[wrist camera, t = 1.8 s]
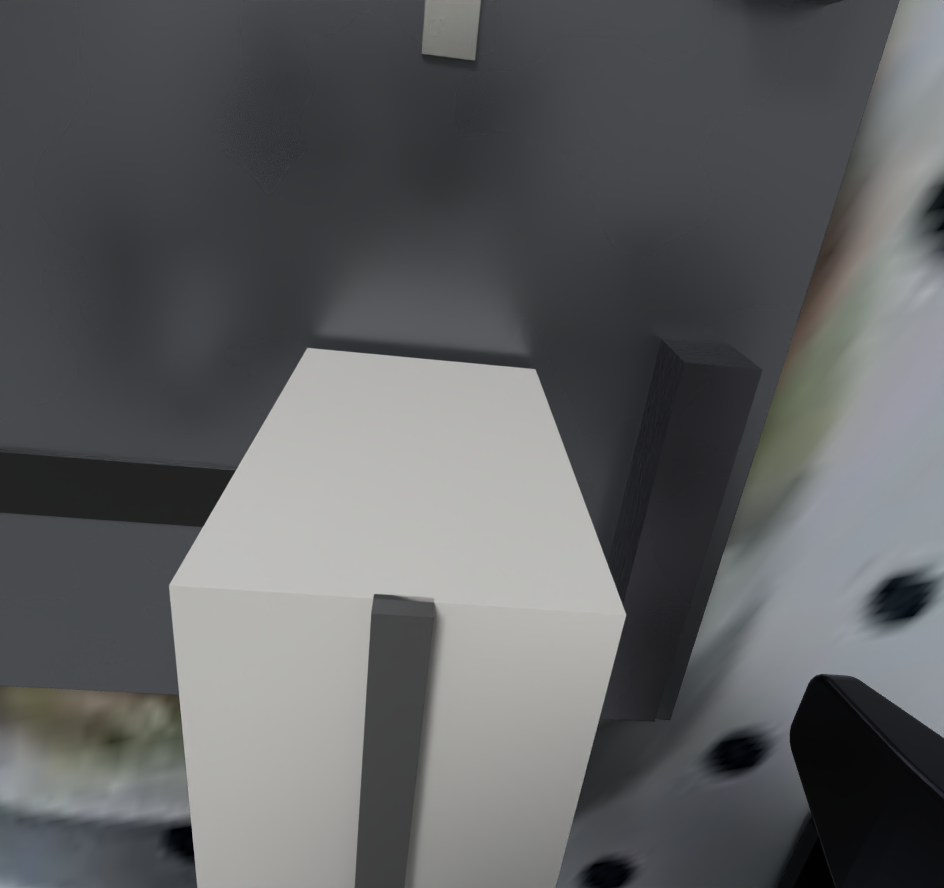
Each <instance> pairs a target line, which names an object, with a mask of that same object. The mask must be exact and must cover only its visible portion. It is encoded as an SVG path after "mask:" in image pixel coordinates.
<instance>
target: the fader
mask: <svg viewBox="0 0 944 888" xmlns="http://www.w3.org/2000/svg"><path fill="white" fill-rule="evenodd" d="M169 591H170V602H171V612H172V623H173V634H174V644H175V655H176V665H177V676H178V687H179V697H180V708H181V718H182V729H183V740H184V750H185V761H186V771H187V782H188V793H189V803H190V814H191V824H192V835H193V846H194V856H195V867H196V877H197V888H556V884H557V880H558V876H559V872H560V869H561V865H562V861H563V857H564V853H565V849H566V845H567V841H568V838H569V834H570V830H571V826H572V822H573V818H574V814H575V811H576V807H577V803H578V799H579V795H580V791H581V787H582V784H583V780H584V776H585V772H586V768H587V764H588V760H589V757H590V753H591V749H592V745H593V741H594V737H595V733H596V730H597V726H598V722H599V718H600V714H601V710H602V706H603V703H604V699H605V695H606V691H607V687H608V683H609V679H610V676H611V672H612V668H613V664H614V660H615V656H616V652H617V649H618V645H619V641H620V637H621V633H622V629H623V625H624V622H625V618H626V613H625V610H624V607H623V605H622V602H621V599H620V597H619V594H618V591H617V588H616V586H615V583H614V580H613V578H612V575H611V572H610V569H609V567H608V564H607V561H606V559H605V556H604V553H603V551H602V548H601V545H600V542H599V540H598V537H597V534H596V532H595V529H594V526H593V523H592V521H591V518H590V515H589V513H588V510H587V507H586V505H585V502H584V499H583V496H582V494H581V491H580V488H579V486H578V483H577V480H576V477H575V475H574V472H573V469H572V467H571V464H570V461H569V459H568V456H567V453H566V450H565V448H564V445H563V442H562V440H561V437H560V434H559V431H558V429H557V426H556V423H555V421H554V418H553V415H552V413H551V410H550V407H549V404H548V402H547V399H546V396H545V394H544V391H543V388H542V385H541V383H540V380H539V377H538V375H537V372H536V369H528V368H517V367H506V366H496V365H485V364H474V363H463V362H453V361H442V360H431V359H421V358H410V357H399V356H388V355H378V354H367V353H356V352H346V351H335V350H324V349H314V348H307V349H306V351H305V353H304V355H303V356H302V358H301V360H300V361H299V363H298V365H297V367H296V368H295V370H294V372H293V374H292V375H291V377H290V379H289V380H288V382H287V384H286V386H285V387H284V389H283V391H282V392H281V394H280V396H279V398H278V399H277V401H276V403H275V404H274V406H273V408H272V410H271V411H270V413H269V415H268V416H267V418H266V420H265V422H264V423H263V425H262V427H261V428H260V430H259V432H258V434H257V435H256V437H255V439H254V440H253V442H252V444H251V446H250V447H249V449H248V451H247V452H246V454H245V456H244V458H243V459H242V461H241V463H240V464H239V466H238V468H237V470H236V471H235V473H234V475H233V476H232V478H231V480H230V482H229V483H228V485H227V487H226V488H225V490H224V492H223V494H222V495H221V497H220V499H219V500H218V502H217V504H216V506H215V507H214V509H213V511H212V512H211V514H210V516H209V518H208V519H207V521H206V523H205V525H204V526H203V528H202V530H201V531H200V533H199V535H198V537H197V538H196V540H195V542H194V543H193V545H192V547H191V549H190V550H189V552H188V554H187V555H186V557H185V559H184V561H183V562H182V564H181V566H180V567H179V569H178V571H177V573H176V574H175V576H174V578H173V579H172V581H171V583H170V585H169Z"/></svg>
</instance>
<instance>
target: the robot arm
mask: <svg viewBox="0 0 944 888" xmlns="http://www.w3.org/2000/svg"><path fill="white" fill-rule="evenodd" d="M790 746H791V750H792V754H793V757H794V760H795V763H796V767H797V770H798V773H799V776H800V779H801V782H802V785H803V789H804V792H805V795H806V798H807V801H808V804H809V807H810V811H811V814H812V818H811V819H810V821H809V823H808V825H807V827H806V829H805V831H804V833H803V835H802V837H801V839H800V842H799V844H798V846H797V848H796V850H795V852H794V854H793V856H792V858H791V860H790V862H789V865H788V867H787V869H786V871H785V873H784V875H783V877H782V879H781V881H780V883H779V885H778V888H944V738H943V737H941V736H940V735H939V734H937V733H936V732H934V731H933V730H931V729H930V728H928V727H927V726H926V725H924V724H923V723H921V722H920V721H918V720H917V719H915V718H914V717H912V716H911V715H910V714H908V713H907V712H905V711H904V710H902V709H901V708H899V707H898V706H897V705H895V704H894V703H892V702H891V701H889V700H888V699H886V698H885V697H883V696H882V695H881V694H879V693H878V692H876V691H875V690H873V689H872V688H870V687H869V686H867V685H866V684H865V683H863V682H862V681H860V680H859V679H857V678H854V677H851V676H845V675H828V674H820V675H816V676H815V677H814V678H813V679H811V680H810V682H809V684H808V686H807V689H806V691H805V693H804V696H803V698H802V701H801V703H800V705H799V708H798V710H797V712H796V715H795V717H794V720H793V722H792V725H791V729H790Z"/></svg>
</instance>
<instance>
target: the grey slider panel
mask: <svg viewBox="0 0 944 888" xmlns="http://www.w3.org/2000/svg"><path fill="white" fill-rule="evenodd" d="M899 1H900V0H0V686H18V687H37V688H57V689H76V690H96V691H115V692H135V693H154V694H174V695H179V687H178V676H177V665H176V655H175V644H174V634H173V623H172V612H171V602H170V591H169V585H170V583H171V581H172V579H173V578H174V576H175V574H176V573H177V571H178V569H179V567H180V566H181V564H182V562H183V561H184V559H185V557H186V555H187V554H188V552H189V550H190V549H191V547H192V545H193V543H194V542H195V540H196V538H197V537H198V535H199V533H200V531H201V530H202V528H203V526H204V525H205V523H206V521H207V519H208V518H209V516H210V514H211V512H212V511H213V509H214V507H215V506H216V504H217V502H218V500H219V499H220V497H221V495H222V494H223V492H224V490H225V488H226V487H227V485H228V483H229V482H230V480H231V478H232V476H233V475H234V473H235V471H236V470H237V468H238V466H239V464H240V463H241V461H242V459H243V458H244V456H245V454H246V452H247V451H248V449H249V447H250V446H251V444H252V442H253V440H254V439H255V437H256V435H257V434H258V432H259V430H260V428H261V427H262V425H263V423H264V422H265V420H266V418H267V416H268V415H269V413H270V411H271V410H272V408H273V406H274V404H275V403H276V401H277V399H278V398H279V396H280V394H281V392H282V391H283V389H284V387H285V386H286V384H287V382H288V380H289V379H290V377H291V375H292V374H293V372H294V370H295V368H296V367H297V365H298V363H299V361H300V360H301V358H302V356H303V355H304V353H305V351H306V349H307V348H314V349H324V350H335V351H346V352H356V353H367V354H378V355H388V356H399V357H410V358H421V359H431V360H442V361H453V362H463V363H474V364H485V365H496V366H506V367H517V368H528V369H536V372H537V375H538V377H539V380H540V383H541V385H542V388H543V391H544V394H545V396H546V399H547V402H548V404H549V407H550V410H551V413H552V415H553V418H554V421H555V423H556V426H557V429H558V431H559V434H560V437H561V440H562V442H563V445H564V448H565V450H566V453H567V456H568V459H569V461H570V464H571V467H572V469H573V472H574V475H575V477H576V480H577V483H578V486H579V488H580V491H581V494H582V496H583V499H584V502H585V505H586V507H587V510H588V513H589V515H590V518H591V521H592V523H593V526H594V529H595V532H596V534H597V537H598V540H599V542H600V545H601V548H602V551H603V553H604V556H605V559H606V561H607V564H608V567H609V569H610V572H611V575H612V578H613V580H614V583H615V586H616V588H617V591H618V594H619V597H620V599H621V602H622V605H623V607H624V610H625V613H626V618H625V622H624V625H623V629H622V633H621V637H620V641H619V645H618V649H617V652H616V656H615V660H614V664H613V668H612V672H611V676H610V679H609V683H608V687H607V691H606V695H605V699H604V703H603V706H602V710H601V714H600V718H599V719H616V720H636V721H655V719H661V720H670V718H671V715H672V712H673V709H674V706H675V702H676V699H677V696H678V693H679V690H680V687H681V684H682V681H683V677H684V674H685V671H686V668H687V665H688V662H689V659H690V655H691V652H692V649H693V646H694V643H695V640H696V637H697V634H698V630H699V627H700V624H701V621H702V618H703V615H704V612H705V608H706V605H707V602H708V599H709V596H710V593H711V590H712V587H713V583H714V580H715V577H716V574H717V571H718V568H719V565H720V561H721V558H722V555H723V552H724V549H725V546H726V543H727V540H728V536H729V533H730V530H731V527H732V524H733V521H734V518H735V514H736V511H737V508H738V505H739V502H740V499H741V496H742V493H743V489H744V486H745V483H746V480H747V477H748V474H749V471H750V467H751V464H752V461H753V458H754V455H755V452H756V449H757V446H758V442H759V439H760V436H761V433H762V430H763V427H764V424H765V420H766V417H767V414H768V411H769V408H770V405H771V402H772V399H773V395H774V392H775V389H776V386H777V383H778V380H779V377H780V373H781V370H782V367H783V364H784V361H785V358H786V355H787V352H788V348H789V345H790V342H791V339H792V336H793V333H794V330H795V326H796V323H797V320H798V317H799V314H800V311H801V308H802V305H803V301H804V298H805V295H806V292H807V289H808V286H809V283H810V279H811V276H812V273H813V270H814V267H815V264H816V261H817V258H818V254H819V251H820V248H821V245H822V242H823V239H824V236H825V232H826V229H827V226H828V223H829V220H830V217H831V214H832V211H833V207H834V204H835V201H836V198H837V195H838V192H839V189H840V185H841V182H842V179H843V176H844V173H845V170H846V167H847V164H848V160H849V157H850V154H851V151H852V148H853V145H854V142H855V138H856V135H857V132H858V129H859V126H860V123H861V120H862V117H863V113H864V110H865V107H866V104H867V101H868V98H869V95H870V91H871V88H872V85H873V82H874V79H875V76H876V73H877V70H878V66H879V63H880V60H881V57H882V54H883V51H884V48H885V44H886V41H887V38H888V35H889V32H890V29H891V26H892V23H893V19H894V16H895V13H896V10H897V7H898V4H899Z"/></svg>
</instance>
